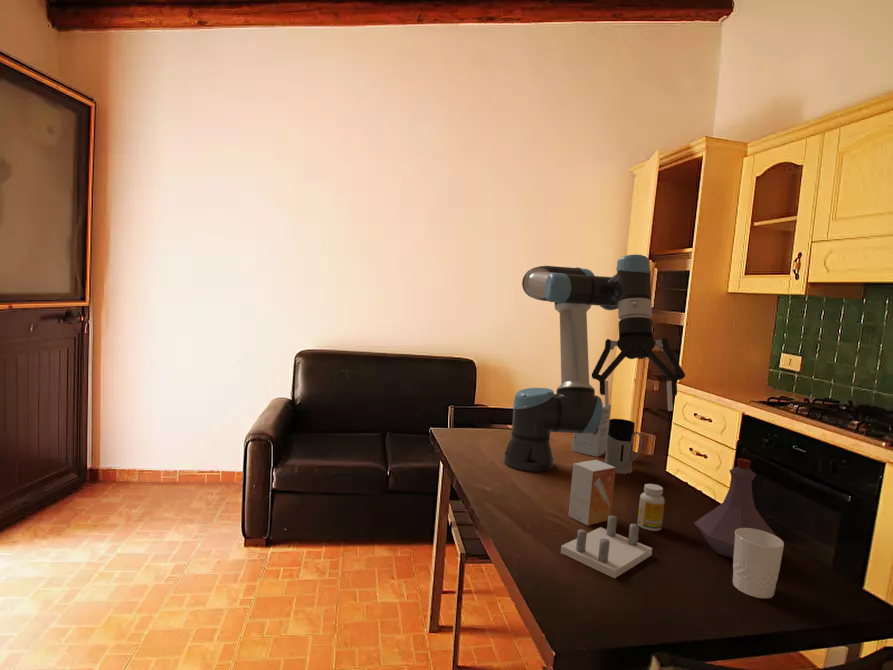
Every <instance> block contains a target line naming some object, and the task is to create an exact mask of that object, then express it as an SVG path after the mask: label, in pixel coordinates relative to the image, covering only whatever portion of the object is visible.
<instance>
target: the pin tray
mask: <svg viewBox="0 0 893 670" xmlns="http://www.w3.org/2000/svg"><path fill="white" fill-rule="evenodd" d="M617 521H618V517H617V516H616V515H612V514H611V515H609V516H608V521H607V525H606V528H604V527H601V526H600V527H598V528H596V529H594V530H591V531H589V532H588V531H587V530H586V529H583V528H579V529H577V534H576V535H577V536H576V538H575V539H572V540H570V541H569V542H566V543H564V544H562V545H561V548H560V554H562V555H564V556H566V557H568V558H570V559H573V560H574V561H576V562H579V563H581V564H583V565H585V566H587V567H590V568H591V569H594V570H596V571H598V572H600V573H602V574H605V575H606V576H609V577H610V578H611V579H612V578H613V579H616V578H617V577H620V576H621V575H622V574H624V573H626V572H627V571H628V570H630V569H633V568H634V567H636V566H637V565H639V564H640V563H641V562H643V561H645V560H646V559H648V558H649V557H651V556H652V553H653V547H650V546H648V545H645V544H643V543H641V542H638V541H639V539H638V538H639V530H640V526H639V525H638V523H637V524H636V523H629V529H628V530H629V532H628V537H626V536H623V535H621V534H618V533H616V531H617Z"/></svg>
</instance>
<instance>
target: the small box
mask: <svg viewBox="0 0 893 670" xmlns="http://www.w3.org/2000/svg"><path fill="white" fill-rule="evenodd" d="M615 470H616V467H613V466H611V465H608V464H606V463H605V462H604V461H600V460H599V459H593V460H586V461H582V462H575V463H573V464H572V473H571V474H572V475H571V485H570V495H569V508H568V517H569V518H571V519H573V520H576V521H577V522H580V523H581V524H583V525H585V526H587V527H588V526H592V525H595V524H600V523H603V522H608V516H609V515H612V510H613V509H612V508H613V498H614V489H615V488H614V487H615V478H616V477H615V476H616V473H615Z"/></svg>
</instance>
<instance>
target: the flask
mask: <svg viewBox="0 0 893 670" xmlns="http://www.w3.org/2000/svg"><path fill="white" fill-rule="evenodd" d="M736 461H737V463H736V464H737V466H735V467H733V468H731V469H729V470H728V471H729V473H730V475H731V478H732V479H731V482H730V486H729V488H728V491H727V492H726V495H725V498H724V500H723V502H722V503H720V504H719V505H717V506H716V507H715V508H714V509H713V510H712V509H711V511H709V512H708V513H706V514H704V515H703V516H701V517H700V518H699V519H697V520H695V522H694V525H695V527H696V528H697V530H698V531H699V532H700V534H701V535H702V537H703V538H704V540H705V541H706V543H707V544H708V545H709V547H711V548H712V550H714V551H715V552H716V553H717V554H719V555H722V556H724V557H726V558H727V557H728V558H729V557H730V559H732V558H733V555H734V539H735V530H736V529H739V528H752V529H757V530H761V531H765V532H768V533H770V534H773V535H775V536H777V535H776V533H775V532H774V531H773V529H772V528H771V527H770V526H769V525H768V524H767V523H766V521H765V520H764V518H763V517H762V516H761V514H760V513H759V511H758V510H757V509H756V506H755V501H754V500H755V499H754V494H753V490H752V484H753V483H752V481H753V480H754V479H755V477H756V476H757V474H756V473H755V472H753V470H751V469H750V466H751V464H752V460H750V459H748V458H742V457H738V458H737V459H736Z"/></svg>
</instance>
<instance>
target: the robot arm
mask: <svg viewBox="0 0 893 670" xmlns="http://www.w3.org/2000/svg"><path fill="white" fill-rule="evenodd" d="M616 263H617V264H616V274H614V275H613V276H599V275H595V274H594V272H593V271H592V270H590V269H587V268H582V267H571V266H570V267H569V266H555V265H554V266H552V265H542V266H541V265H540V266H536V267H533V268H531V269H529V270H527V271H526V272H525V274H524V275H523V277H522V280H521V285H522V289H523V291H524V293H525V294H526V295H527V296H528V297H530V298H532V299H535V300H538V301H542V302H544V301H545V302H550V303H554V309H555V310H556V311H557V313H559V338H560V339H559V343H560V344H559V345H560V379H561V383H560V385H559V387H557V388H556V393H554V390H553V389H551V388H549V387H548V388H547V387H529V388H523V389H520V390H518V391H517V392H516V393H515V395H514V400H513V406H512V407H513V408H512V409H513V410H512V424H511V436H510V440H509V441H508V445H507V446H506V449H505V452H504V454H503V462H505V463H506V464H507V465H506V464H505V463H504V464H505V465H506V466H508V465H509V466H508V467H510V466H511V467H510V468H512V467H513V469H515V468H516V470H519V469H520V470H519V471H524V470H525V471H526V472H534V471H535V472H547V471H550V470H552V469H553V468H554V457H553V452H552V448H551V447H552V446H551V444H550V440H551V439H550V436H551V433H568V434H569V433H571V434H574V433H578V434H582V433H593V432H594V431H595V430H596V429H597V428H598V426H599V424H600V422H601V418H602V412H603V404H602V403H603V401H602V400H603V399H602V398H601V397H600V396H604V403H605V410H609V404H610V402H609V400H610V399H609V380H607V379H608V377H609V376H610V375H611V374H612V373H613V372H614V371H615V369H617V367H618V366H619V365H620V364H621V362H622V361H624V359H625V358H627V359H629V360H634V359H638V360H644V359H645V358H647V359H648V360H649V361H650V362H652V364H653V365H654V366H656V368H658V369H659V370H660V372H661V373H662V374H663V375H664V376H665V377H666V378H667V379H668V380H667V381H666V398H667V411H668V412H672V411H673V410H674V407H673V397H675V396H677V394H678V384H677V383H678V381H680V380H684V378H685V377H686V373H685V372H684V370H683V368H682V367H681V365H680V364H679V362H678V360H677V358H676V357H675V355H674V353H673V352H672V350H671V348H670V345H669V341H668V338H666V337H663V338H662V339H655V338H654V336H653V335H654V333H653V332H654V329H653V328H654V327H653V320H652V318H653V311H652V310H653V308H652V307H653V306H652V305H653V304H652V279H651V277H652V276H651V274H652V271H651V266H650V259H649V258H648V257H647V256H645V255H643V254H627V255H624V256H622V257H620V258H619V259H618V260H617V262H616ZM592 306H597V307H598V306H599V307H600V308H602V309H603V310H606V311H615V310H617V311H618V313H617V314H618V319H619V321H618V340H611V339H609V338H607V339H606V340H605V341H604V343H605V344H604V349H603V351H602V353H601V355H600V356H599V358H598V360H597V363H596V364H595V367H594V369H593V370H592V372H591V378H592V379H593V380H597V381H598V382H599V394H600V396H598V395H596V394H595V393H596V392H595V391H596V390H595V388H594V387H593V386H592V385H591V384H590V373H589V372H590V369H589V366H590V365H589V344H588V343H589V342H588V341H589V340H588V337H589V336H588V320H587V319H588V317H587V316H588V315H587V312H588V311H589V310H590V309H591V308H592ZM655 346H657V347H658V349H660V350H662V352H663V354H664V356H665V357H666V359H667V361H668V363H669V364H670V366H671V367H672V369H673V371H674V373H673V372H672V370H671V369H669V367H668V366H667V365H666V364H665V363H664V362H663V361H662V360H661V359H660V358H659V357H658V356H657V355H656V354H655V353H654V352H653V349H654V348H655ZM615 347H617V348H618V349H619V350H620V352H619V354H618V355H616V358H614V359H613V361H612V362H611V363H610V364H609V365H608V367H607V368H606V369H605V370H604V371H603V372H602V373H601V374H600V372H601V370H602V368H603V367H604V365H605V362H606V360H607V358H608V356H609V354H610V352H611V351H612V350H614V349H615Z"/></svg>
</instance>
